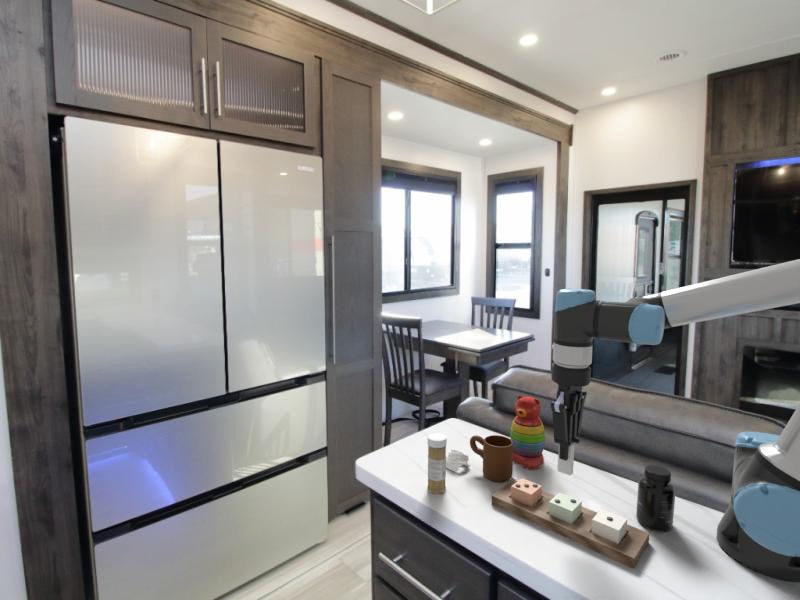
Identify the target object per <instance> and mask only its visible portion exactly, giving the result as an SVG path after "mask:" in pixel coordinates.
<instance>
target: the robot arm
mask: <svg viewBox="0 0 800 600" xmlns="http://www.w3.org/2000/svg"><path fill="white" fill-rule="evenodd" d="M797 304H800V258H799V259H795V260H794V259H793V260H789V261H785V262H782V263H781V262H780V263H778V264H773V265H769V266H764V267H760V268H755V269H752V270H748V271H743V272H740V273H735V274H731V275H727V276H723V277H718V278H715V279H711V280H706V281H700V282H697V283H693V284H689V285H685V286H681V287H680V286H679V287H676V288H672V289H667V290H664V291H661V292H655V293H651V294H647V295H639V296H635V297H632V298H630V299H628V300H626V301H624V302H618V301H603V300H600V299H599V300H598V299H597V296H596V291H595V290H591V289H584V288H562V289H559V290H558V291H557V293H556V295H555V306H554V311H553V313H554V321H553V343H552V345H551V346H550V348H551V350H552V360H553V363H552V364H551V376H550V377H551V380H552V382H554V383H556V384H557V385H558V387H557V391H556V401H551V402H550V408H551V413H552V425H553V426H552V427H553V428H552V429H553V442H554V443H555V444H558V455H557V457H558V458H557V472H559V473H561V474H565V475H567V476H571V475H573V474H574V462H575V459H574V458H575V445H576V444H580V441H581V440H580V439H578V438H579V437H580V436H581V435H580V433H581V428H582V421H583V420H582V419H583V414H584V407H585V402H586V397H587V395H588V394H587V391H586V390H583V388H584V387H587V386H588V385H589V384H590V383H591V373H592V368H591V367H590V365H592V362H593V343H594V342H593V340H594V339H596V340H597V339H599V340H607V341H615V342H621V343H631V344H635V345H638V346H641V345H646V346H647V345H650V346H657V345H659V344H661V342H662V341H663V337H664V331H665V329H670V328H674V327H680V326H684V325H689V324H695V323H699V322H700V323H701V322H705V321H710V320H712V321H713V320H716V319H722V318H727V317H733V316H737V315H744V314H749V313H754V312H759V311H760V312H761V311H764V310H769V309H775V308H780V307H781V308H782V307H785V306H786V307H787V306H792V305H797ZM577 437H578V438H577ZM733 446H734V458H733V459H734V460H733V467H732V468H733V471H732V482H731V490H730V491H731V493H730V504H729V505H728V507H727V508H726V510H725V513H723V516H722V518H721V519H720V521H719V522H718V524H717V528H716V541H718V542H717V544H718V543H719V544H718V546H719V547H720V546H721V547H722V548H723V549H724V550H725V551H726V552H727V553H728V554H729V555H728V554H727V553H726V552H725V551H724V550H723V549H722V548H721V547H720V548H721V549H722V550H723V551H724V552H725V553H726V554H727V555H728V556H730V555H731V556H732V557H733V558H732V557H731V556H730V557H731V558H732V559H733V560H735V559H736V561H737V562H738V561H739V562H738V563H740V562H741V563H742V564H741V563H740V564H741V565H743V564H744V565H743V566H745V565H746V566H745V567H747V568H749V569H751V570H753V571H755V572H758V573H761V574H763V575H767V576H768V577H772V578H775V579H780V580H784V581H788V582H800V403H799V404H798V405H797V407H796V409H795V410H794V411H793V413H792V416H791V417H790V419H789V420H788V422H787V424H786V425H785V427H784V428H783V430H782V432H781V433H780V435H778V434H774V433H767V432H759V431H742V432H739V433H738V434H737V435H736V439H735V443H733Z"/></svg>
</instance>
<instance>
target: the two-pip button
mask: <svg viewBox="0 0 800 600" xmlns="http://www.w3.org/2000/svg"><path fill="white" fill-rule="evenodd" d="M554 496H555V497H554V498H553V499H551V500H550V501H549V515H551V516H554V517H556V518H558V519H560V520H563V521H565V522H567V523H570V524H572V525H573V524H574V523H575V522H576V521H577V520H578V517H579V516H580V515H581V507H583V504H582V503H583V501H582V500H579V499H577V498H574V497H572V496H569V495H566V494H564V493H561V492H558V493H557V494H556V495H554Z"/></svg>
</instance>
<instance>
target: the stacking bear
mask: <svg viewBox="0 0 800 600" xmlns="http://www.w3.org/2000/svg"><path fill="white" fill-rule="evenodd" d="M514 411H515V414H516V416H515V417H514V419H513V420H512V424H511V428H510V434H509V437H510V438H509V439H511V440H512V442H513V463H514V462H515V463H518V464H519V465H521V466H522V467H523V468H525V469H527V470H530V471H531V470H532V471H533V470H537V469H539V468H541V467H542V466H543V464H544V461H545V459H544V455H543V451H544V447H545V444H546V432H545V427H544V424H543V422H542V419H541V418H540V417H539V415H540V414H541V402H540V400H539V399H538V398H535V397H532V396H523V395H522V394H520V395H518V396H517V401H516V402H515V405H514Z"/></svg>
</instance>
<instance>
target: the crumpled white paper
mask: <svg viewBox="0 0 800 600" xmlns="http://www.w3.org/2000/svg"><path fill="white" fill-rule="evenodd" d="M468 462H469V455H467V454H465V453H464V452H463V451H460V450H457V449H449V450H448V453H446V470H450V471H452V472H458V471H459V469H460V468H461V467H463V466H466V467H468V468H470V467H471V465H470V464H469V463H468Z"/></svg>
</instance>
